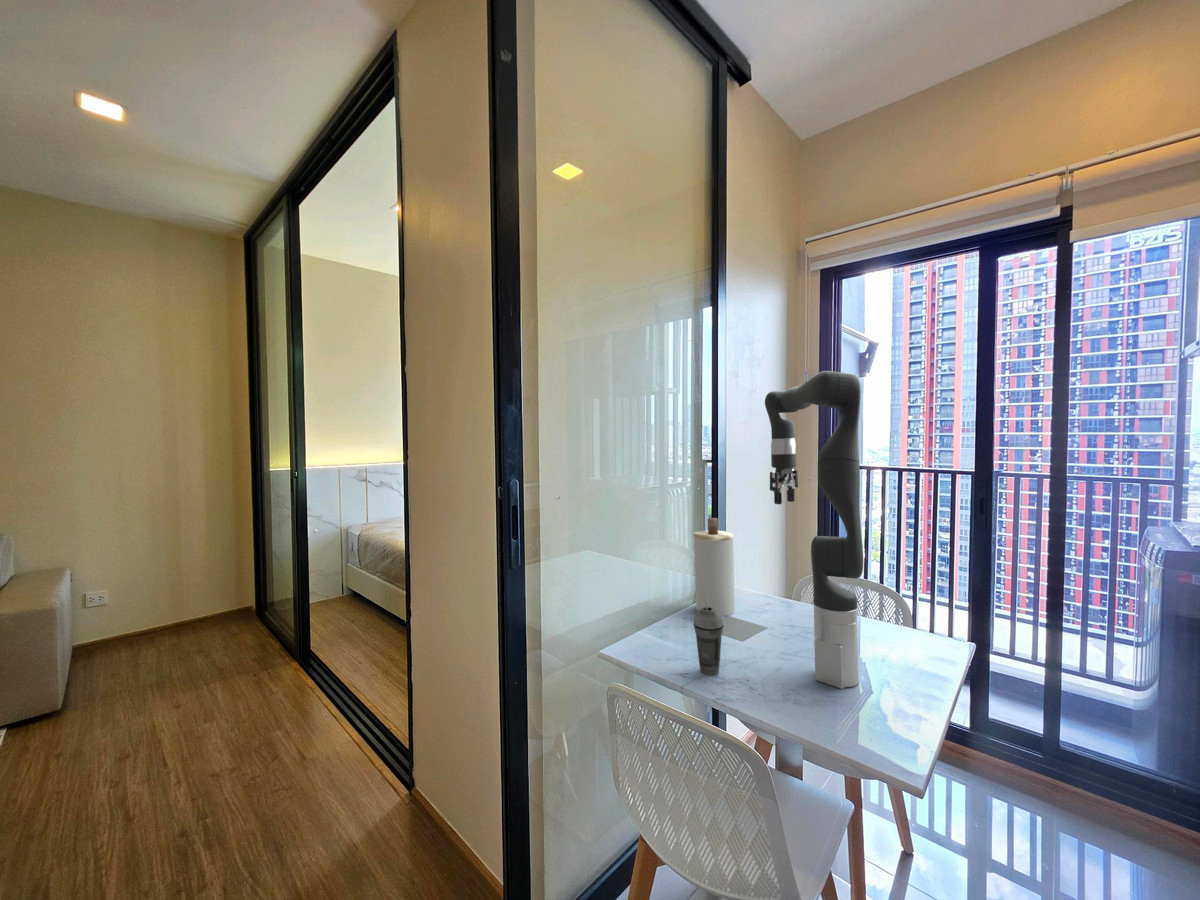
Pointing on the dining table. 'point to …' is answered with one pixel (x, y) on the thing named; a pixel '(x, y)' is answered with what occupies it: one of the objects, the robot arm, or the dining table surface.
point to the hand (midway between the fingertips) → (784, 502)
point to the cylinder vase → (715, 575)
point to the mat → (740, 628)
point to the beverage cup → (708, 639)
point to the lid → (713, 532)
